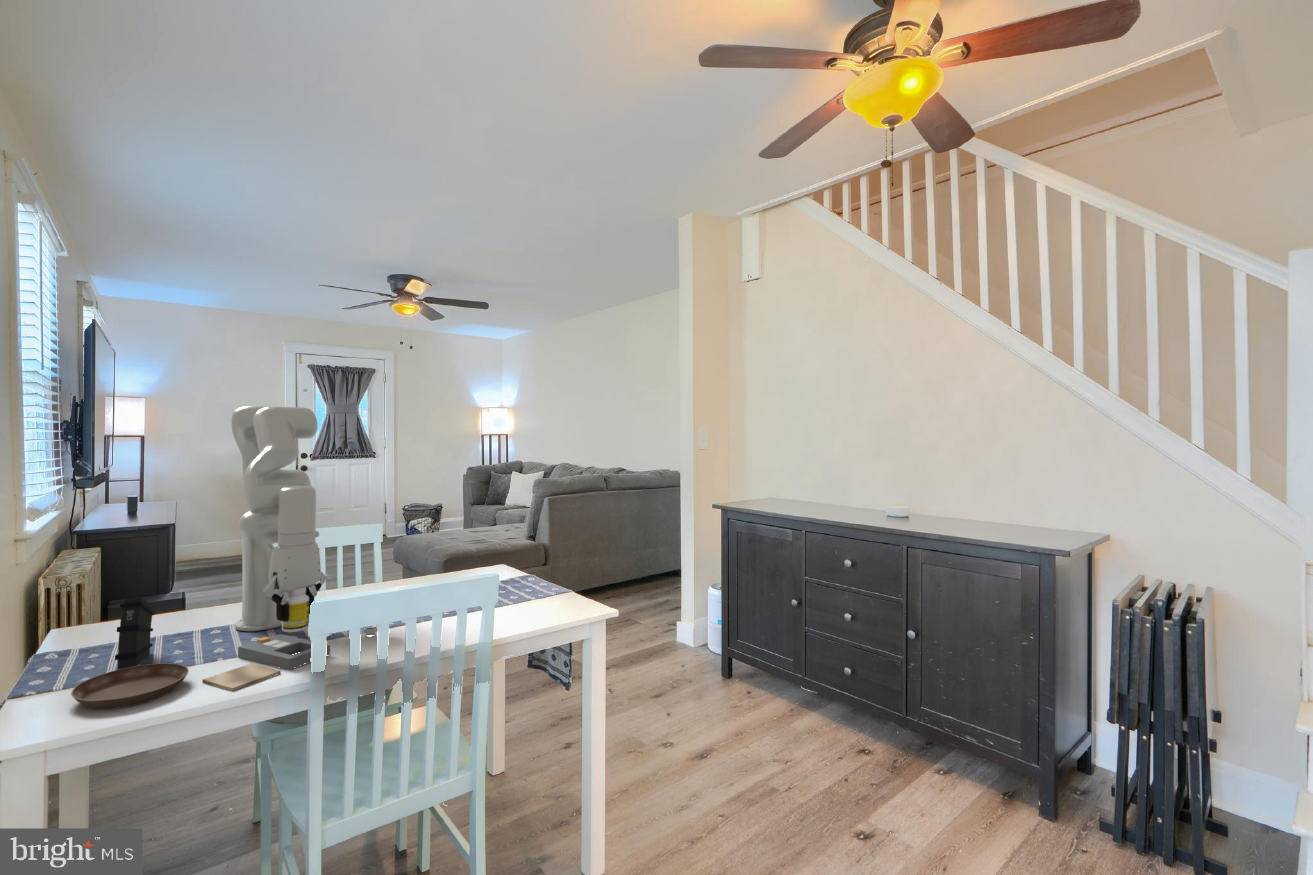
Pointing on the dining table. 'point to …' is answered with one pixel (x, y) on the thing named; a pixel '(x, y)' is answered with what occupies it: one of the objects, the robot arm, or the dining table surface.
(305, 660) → the grey panel with buttons
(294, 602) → the supplement bottle
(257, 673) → the cork mat
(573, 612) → the dining table surface
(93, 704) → the plant saucer
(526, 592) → the dining table surface
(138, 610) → the magazine
